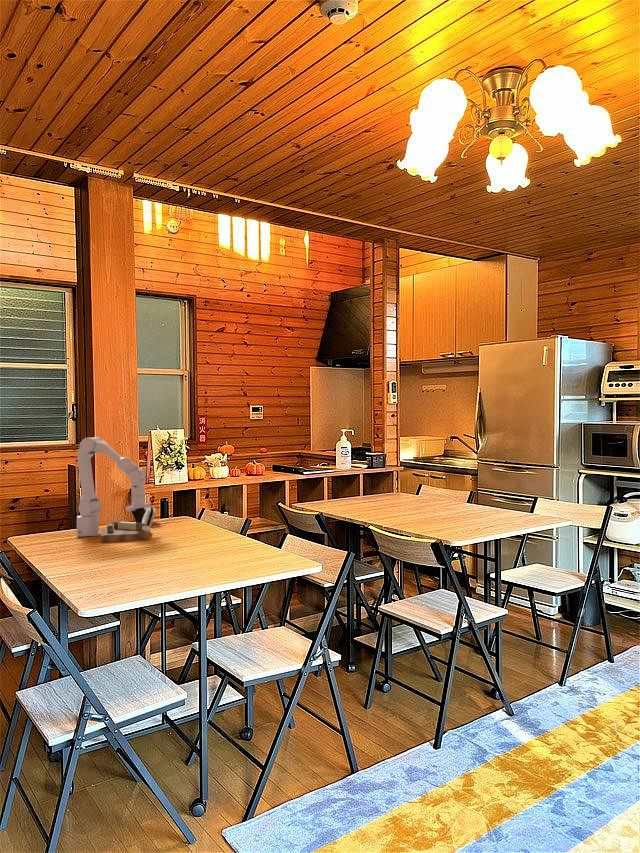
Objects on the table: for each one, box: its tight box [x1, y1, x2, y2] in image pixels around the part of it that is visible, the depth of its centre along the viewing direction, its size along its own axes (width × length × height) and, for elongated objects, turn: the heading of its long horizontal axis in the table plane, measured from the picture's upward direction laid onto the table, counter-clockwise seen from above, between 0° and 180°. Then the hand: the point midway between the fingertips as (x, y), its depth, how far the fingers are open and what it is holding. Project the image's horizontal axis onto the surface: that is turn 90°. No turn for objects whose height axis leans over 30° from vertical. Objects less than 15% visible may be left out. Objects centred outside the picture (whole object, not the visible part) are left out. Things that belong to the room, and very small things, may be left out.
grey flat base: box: [99, 523, 151, 543], centre depth 290 cm, size 20×18×6 cm
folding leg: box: [113, 520, 143, 530], centre depth 293 cm, size 14×3×3 cm, turn 70°
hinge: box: [142, 506, 157, 526], centre depth 324 cm, size 17×5×10 cm, turn 21°
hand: (138, 525), depth 293 cm, fingers closed
